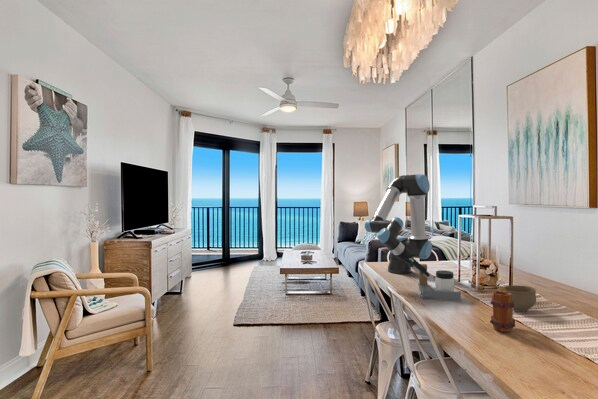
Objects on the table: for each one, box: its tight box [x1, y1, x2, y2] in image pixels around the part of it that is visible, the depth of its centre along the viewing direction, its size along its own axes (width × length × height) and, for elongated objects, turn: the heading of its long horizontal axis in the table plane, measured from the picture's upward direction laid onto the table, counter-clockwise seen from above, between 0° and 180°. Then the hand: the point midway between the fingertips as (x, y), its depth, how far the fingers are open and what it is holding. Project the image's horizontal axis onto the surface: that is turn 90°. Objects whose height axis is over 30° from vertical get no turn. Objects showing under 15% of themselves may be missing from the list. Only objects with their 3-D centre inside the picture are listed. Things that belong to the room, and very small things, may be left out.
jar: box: [434, 269, 455, 291], centre depth 169 cm, size 9×8×12 cm
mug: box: [489, 285, 516, 333], centre depth 128 cm, size 15×8×15 cm, turn 148°
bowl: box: [504, 284, 537, 312], centre depth 147 cm, size 13×13×10 cm
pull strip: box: [417, 263, 462, 302], centre depth 175 cm, size 26×18×12 cm
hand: (426, 276), depth 187 cm, fingers open, 13 cm apart
